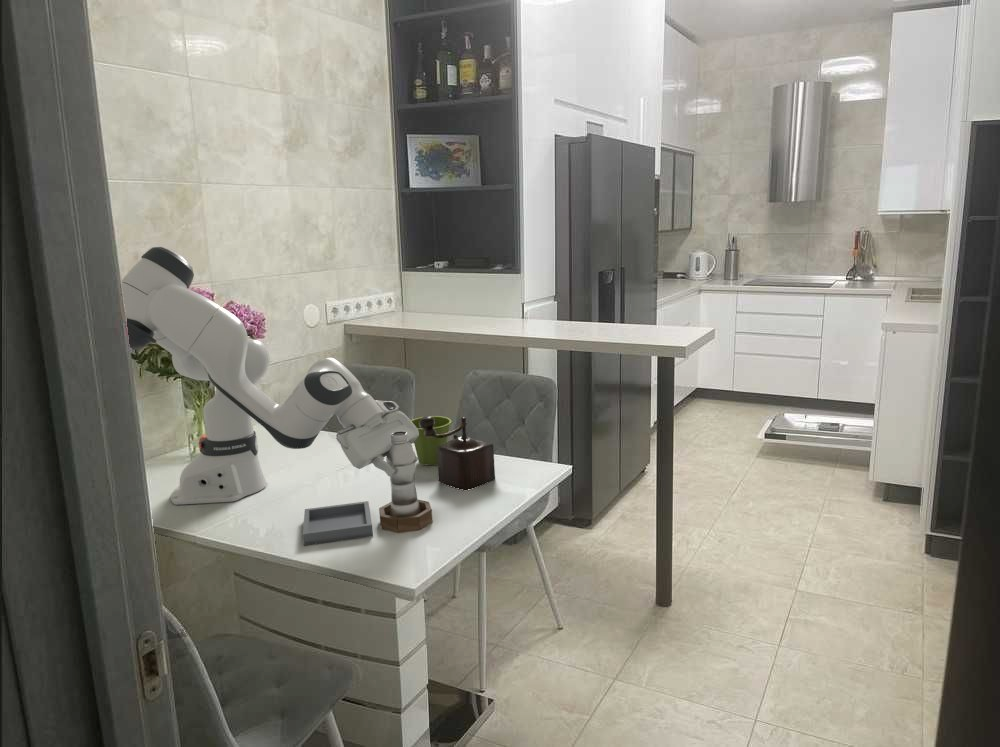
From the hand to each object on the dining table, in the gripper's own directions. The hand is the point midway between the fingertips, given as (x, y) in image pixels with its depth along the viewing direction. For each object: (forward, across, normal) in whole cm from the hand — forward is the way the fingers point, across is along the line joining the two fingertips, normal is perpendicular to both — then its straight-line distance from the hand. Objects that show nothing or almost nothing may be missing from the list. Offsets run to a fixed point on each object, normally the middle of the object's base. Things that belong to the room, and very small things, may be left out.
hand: (404, 468), depth 159 cm
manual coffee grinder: (+7, +24, +11) cm, 28 cm away
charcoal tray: (0, -9, +18) cm, 19 cm away
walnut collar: (+8, 0, +9) cm, 12 cm away
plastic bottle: (+8, 0, +9) cm, 13 cm away
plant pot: (-4, +36, +22) cm, 42 cm away
